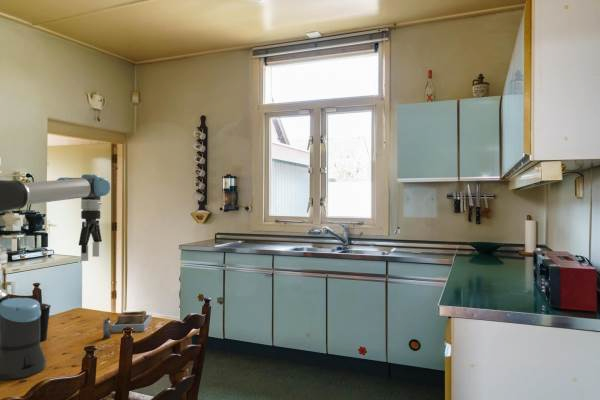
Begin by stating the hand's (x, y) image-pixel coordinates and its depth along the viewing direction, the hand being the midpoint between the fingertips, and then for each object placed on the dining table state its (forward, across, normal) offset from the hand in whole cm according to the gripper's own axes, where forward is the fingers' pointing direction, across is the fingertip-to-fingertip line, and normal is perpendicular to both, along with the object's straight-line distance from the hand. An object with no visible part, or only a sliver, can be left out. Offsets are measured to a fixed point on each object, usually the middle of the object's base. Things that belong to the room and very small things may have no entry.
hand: (90, 258), depth 183 cm
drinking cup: (+32, -10, +16) cm, 37 cm away
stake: (+32, -10, -10) cm, 35 cm away
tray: (+32, +5, -16) cm, 36 cm away
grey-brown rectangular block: (+31, +5, -16) cm, 35 cm away
